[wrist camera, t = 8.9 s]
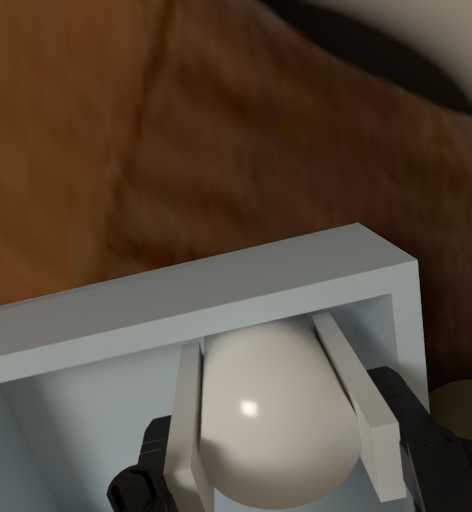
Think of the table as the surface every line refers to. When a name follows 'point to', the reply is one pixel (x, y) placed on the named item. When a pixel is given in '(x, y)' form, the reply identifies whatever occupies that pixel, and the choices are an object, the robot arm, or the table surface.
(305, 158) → the table surface
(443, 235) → the table surface
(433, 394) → the cork
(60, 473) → the tote
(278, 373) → the white egg
